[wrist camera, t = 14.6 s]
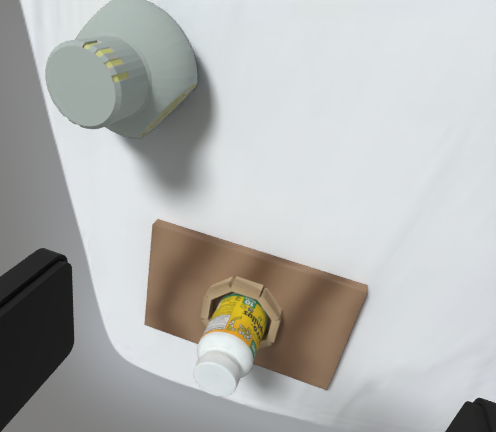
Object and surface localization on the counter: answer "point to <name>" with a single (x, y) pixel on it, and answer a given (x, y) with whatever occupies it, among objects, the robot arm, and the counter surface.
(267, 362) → the wooden board
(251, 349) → the supplement bottle
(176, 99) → the air freshener
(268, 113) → the counter surface
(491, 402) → the robot arm
